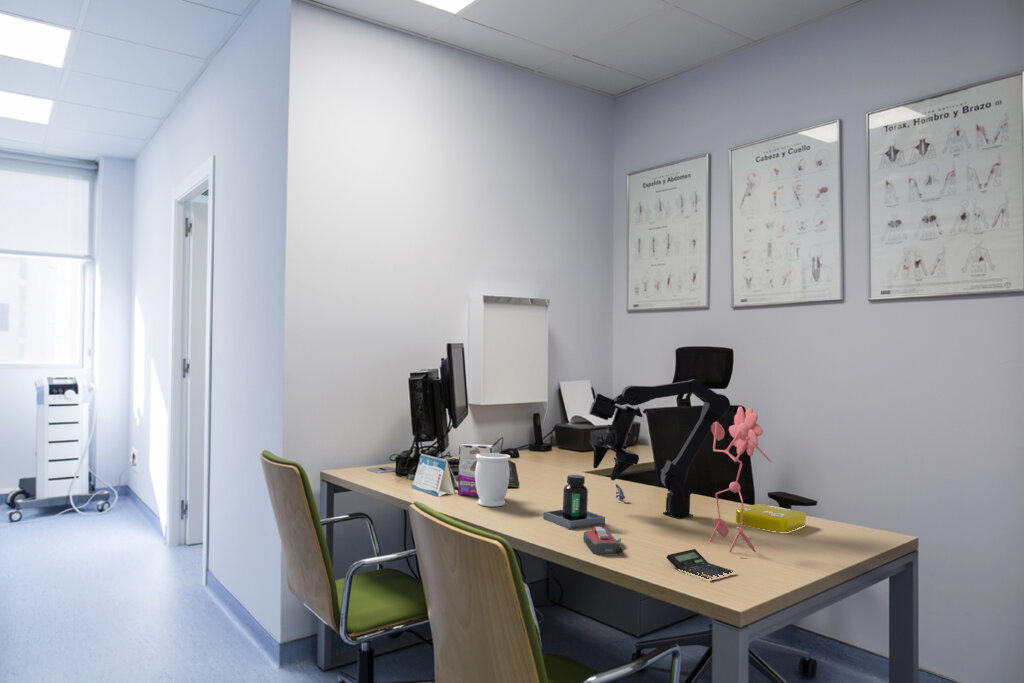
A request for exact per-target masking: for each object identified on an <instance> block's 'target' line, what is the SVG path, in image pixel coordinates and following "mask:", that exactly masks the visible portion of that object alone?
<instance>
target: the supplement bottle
mask: <svg viewBox="0 0 1024 683" xmlns="http://www.w3.org/2000/svg"><path fill="white" fill-rule="evenodd" d="M566 476H567V477H566V478H567V479H566V480H567V481H566V483H567V484H566V485H565V486H564V487H563V493H562V509H563V518H564V519H567V520H569V521H575V520H582V519H587V511H588V505H589V504H588V503H589V502H588V500H589V499H588V496H589V495H588V494H589V490H588V488H587V486H585V483H586V481H585V476H584V475H578V474H569V475H566Z"/></svg>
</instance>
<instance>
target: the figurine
mask: <svg viewBox="0 0 1024 683" xmlns="http://www.w3.org/2000/svg"><path fill="white" fill-rule="evenodd" d="M733 417H734V418H733V420H734V421H733V425H730V426H729V427H728V432H729V435H730V436H731V437H732V438H733V440H732V441H731V442H730V444H729V445H728V446H727V448H726V449H724V450H723V449H716V443H717V441H721V440H722V439H724V437H725V434H726V433H725V429H724V427H723V426H722V424H720V423H719V421H716V422H715V423H713V424H712V426H711V430H710V432H711V433H712V435H713V445H712V452H714V453H715V452H716V453H724V454H725V455H728V456H729V457H730V459H732V460H733V461H734V463H737V462H738V463H739V467H738V468H739V469H738V471H737V476H736V480H735V481H732V482H730V483H729V487H728V488H726V489H724V490H721V491H717V492H715V501H716V506H717V507H716V508H717V513H718V517H717V518H715V519H714V522H713V526H714V530H713V532H712V534H711V536H710V538H709V540H708V541H709V542H712V541H713V538H715V537H714V536H715V535H716V533H718V534H719V536H721V538H723V539H725V538H726V537H727V535H728V534H729V527H728V524H727V523H726V522H725V520H723V519H722V518H721V510H720V504H719V500H718V498H719V497H718V495H719V494H722V493H724V492H727V491H731V492H732V493H738V494H739V497H740V501H741V508H742V509H741V525H740V527H739V526H736V530H737V533H736V534H735V535H736V536H735V538H734V539H733V541H732V543H731V546H730V548H729V550H728V552H730V553H732V551H733V549H734V547H735V545H736V542H737V541H738V539H739V537H740V536H741V538H742V540H743V541H744V543H746V545H747V546H748V547H749V548H750V549H751V550H752V551H753V553H755V552H756V549H755V547H754V544H752V542H751V539H749V538H748V537H749V536H747V534H746V533H745V532H744V531H743V525H742V519H743V508H744V499H743V496H742V493H741V484H740V483H739V477H740V476H741V475H740V473H741V470H742V468H743V465H744V464H743V463H742V462H743V461H741V460H740V459H739V458H740V456H741V455H742V454H743V453H744V452H745V451H746V453H747V455H748V456H749V457H752V456H753V455H754V452H755V449H757V450H758V451H759V453H761V454H762V456H764V458H765V459H766V460H768V462H769V463H772V461H771V459H770V458H769V457H768V456H767V455H766V454H765V453H764V451H763V450H762V449H761V448H760V447H759V440H758V437H760V436H761V435H763V428H762V427H761V426H760V425H759V424H758V423H757V421H758V419H759V417H758V414H757V413H756V412H754V408H753V407H750V408H747V409H746V411H745V410H744V408H743V406H738V408H737V411H736V414H735V415H734V416H733ZM732 446H734V447H735V448H736V453H737V455H736V456H734V455H733V454H732V453H730V449H731V448H732ZM730 535H731V536H733V534H732V533H731V534H730ZM756 553H757V552H756ZM741 559H745V560H747V559H748V557H741Z"/></svg>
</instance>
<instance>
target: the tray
mask: <svg viewBox="0 0 1024 683" xmlns="http://www.w3.org/2000/svg"><path fill="white" fill-rule="evenodd" d="M542 518H543V520H545V521H548V522H550V523H553V524H556V525H558V526H561V527H563V528H566V529H568V530H575V529H581V528H582V527H583V528H588V527H589V526H590V527H596V526H601V525H600V524H603V525H606V516H604V515H600V514H597V513H594V512H592V511H589V510H587V519H582V520H575V521H569V520H567V519H564V518H563V508H562V509H556V510H548V511H546V510H545V511H543V517H542ZM595 525H596V526H595ZM590 527H589V528H590Z"/></svg>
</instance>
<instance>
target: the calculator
mask: <svg viewBox="0 0 1024 683" xmlns="http://www.w3.org/2000/svg"><path fill="white" fill-rule="evenodd" d="M665 558H666V560H668V562H670V563H671V565H673V567H674V568H675V569H676V568H677V569H680V570H683V571H686V572H689V573H692V574H695V575H698V573H699V575H698V576H701V575H702V576H701V577H704V578H706V579H709V578H711V577H713V575H715V576H717V577H719V576H718V574H719V575H723V572H724V573H727V574H729V572H730V573H732V572H733V571H734V570H731V569H729V568H726V567H723V566H719V565H716V564H714V563H712V562H711V563H710V562H708V560H706V559H705V557H704V556H703V555H701V553H700V552H699V551H698V550H697V549H696V548H693V549H689V550H684V551H679V552H675V553H670V554H667V555H666V557H665ZM677 569H676V570H677ZM731 571H732V572H731ZM697 572H698V573H697ZM702 572H703V574H702ZM708 575H709V576H708ZM723 576H724V575H723ZM707 577H708V578H707ZM711 579H712V578H711Z"/></svg>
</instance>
